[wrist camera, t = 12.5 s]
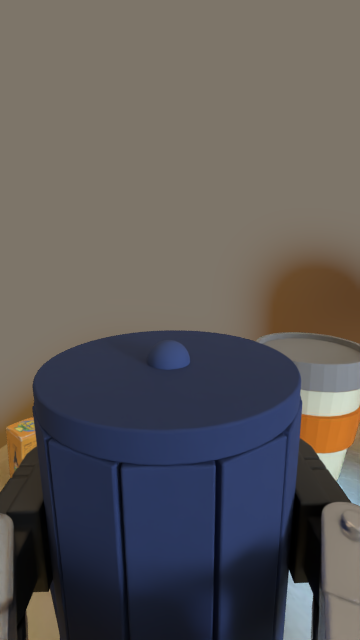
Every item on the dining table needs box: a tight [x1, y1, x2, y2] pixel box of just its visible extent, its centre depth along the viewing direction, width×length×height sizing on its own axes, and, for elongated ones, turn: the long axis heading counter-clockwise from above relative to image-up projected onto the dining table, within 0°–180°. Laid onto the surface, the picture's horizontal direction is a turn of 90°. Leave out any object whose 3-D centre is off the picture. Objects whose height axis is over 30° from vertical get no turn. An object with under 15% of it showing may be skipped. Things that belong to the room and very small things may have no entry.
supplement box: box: [6, 417, 37, 478], centre depth 31 cm, size 3×3×10 cm
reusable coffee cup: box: [256, 332, 360, 481], centre depth 38 cm, size 13×13×15 cm
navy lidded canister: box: [33, 331, 303, 640], centre depth 10 cm, size 10×6×10 cm, turn 32°
